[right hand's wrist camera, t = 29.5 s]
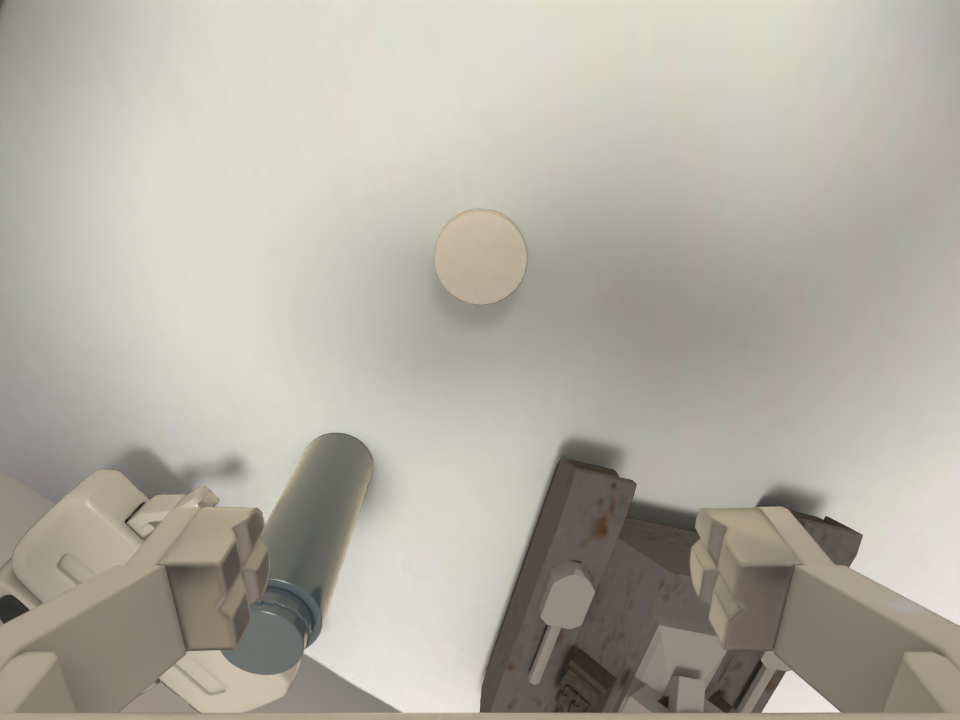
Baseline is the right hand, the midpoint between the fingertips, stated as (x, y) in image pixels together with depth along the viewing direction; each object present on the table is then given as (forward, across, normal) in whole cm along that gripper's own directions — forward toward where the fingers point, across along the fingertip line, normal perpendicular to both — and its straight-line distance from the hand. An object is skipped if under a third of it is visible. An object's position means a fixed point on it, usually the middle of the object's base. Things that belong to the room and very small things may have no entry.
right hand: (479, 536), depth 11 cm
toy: (+27, -13, +27) cm, 41 cm away
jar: (+27, +10, +15) cm, 33 cm away
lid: (+26, 0, 0) cm, 26 cm away
